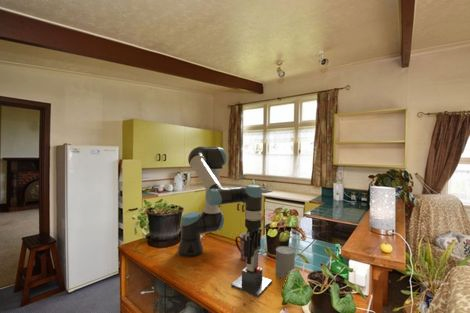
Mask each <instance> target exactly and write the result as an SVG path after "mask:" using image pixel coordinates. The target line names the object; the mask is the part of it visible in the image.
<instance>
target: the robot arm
mask: <svg viewBox="0 0 470 313" xmlns="http://www.w3.org/2000/svg"><path fill="white" fill-rule="evenodd" d="M187 162H188V164H189V166H190V168H191V169H192V170H194V172H195V173H196V175H197V177H198V178H199V180H200V181H201V183H202V185H203V187H204V188H205V197H204V198H205V202H204V207H203V209H202V213H200V212H198V211H191V212H187V213H185V214H183V215H182V216H181V219H180V241H179V244H178V245H179V246H178V248H177V254H178V255H179V256H180V257H183V258H193V257H194V258H195V257H197V256H200V255H202V253H203V251H204V246H203V244H202V241H201V234H206V233H211V232H217V231H221V229H222V228H223V226H224V224H225V217H224V214H223V212H222V211H221V209H220V206H221V205H227V204H237V203H243V204H245V206H244V207H245V208H244V211H245V215H244V218H245V219H244V225H245V228H246V229H247V230H246V233H247V235H246V236H245V235H244V236H243V238H244V256H245V257H247V261H246V266H247V270H249V271H253V257H252V250H253V246H256V247H260V249H261V245H262V232H263V231H262V230H263V229H262V215H263V213H262V205H263V204H262V203H263V202H262V201H263V197H262V196H263V192H262V190H263V188H262V186H261V185H257V184H247V185H246V186H245V187H244V186H242V185H235V186H233V187H223V185H222V184H221V182H220V178H221V171H222V169H223V166H225V165H226V164H227V163H226V162H227V153H226V151H225V150H224V148H222V147H219V146H197V147H194V148H193V149H192V150H191V151H190V152H189V154H188V158H187ZM251 239H252V240H251ZM260 253H261V250H259V251H258V254H260Z"/></svg>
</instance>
